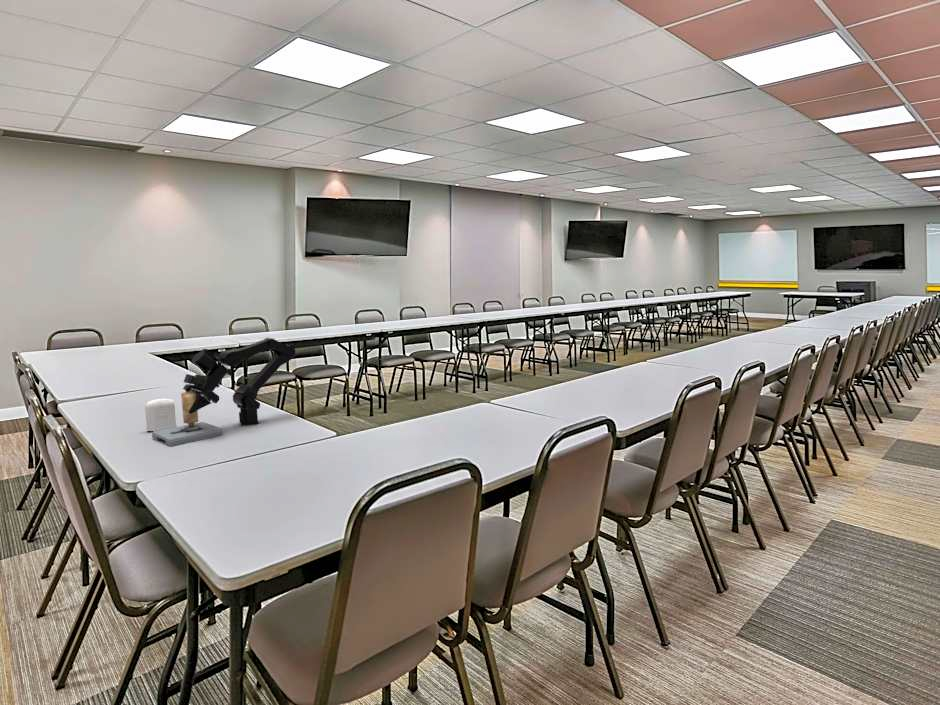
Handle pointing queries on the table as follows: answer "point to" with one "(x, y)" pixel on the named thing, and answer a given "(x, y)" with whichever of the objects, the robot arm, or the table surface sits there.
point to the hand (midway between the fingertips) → (186, 411)
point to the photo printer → (160, 414)
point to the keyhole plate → (187, 434)
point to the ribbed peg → (188, 418)
